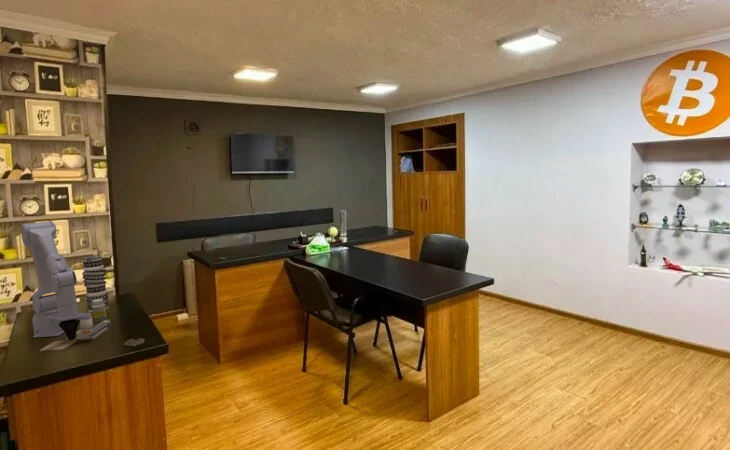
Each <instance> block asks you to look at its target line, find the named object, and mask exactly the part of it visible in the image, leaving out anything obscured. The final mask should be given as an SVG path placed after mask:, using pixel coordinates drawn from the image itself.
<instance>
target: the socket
mask: <svg viewBox="0 0 730 450" xmlns="http://www.w3.org/2000/svg"><path fill="white" fill-rule="evenodd" d="M108 330H109V329H108V327H103V328H101V329H100V330H98V333H96V334H95V335H93V336H90V337H88V338H83V337H77V333H78V332H80V331H81V329H79V330H77V332H76V338H75V339H73V340H77V341H81V340H83V341H84V340H95V339H96V338H97V337H99V336H100V335H102V334H104V332H106V331H108ZM65 340H68V338H67V337H66V338H65Z"/></svg>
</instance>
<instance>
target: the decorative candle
mask: <svg viewBox="0 0 730 450" xmlns="http://www.w3.org/2000/svg"><path fill="white" fill-rule="evenodd" d="M81 262H82V269H83V272H82V273H81V274H82V279H84V280H83V283H84V284H83V287H85V288H86V296H85V298H86V302H87V304H86V306H87V312H88V313H91V312H93V311H92V306H93V304H92V301H93V300H96V299H103V303H104V304H105V309H107V310H109V309H110V300H109V296H108V295H109V293H108V292H107V287H106V284H107V281H106V279H107V277H106V276H107V274H106V273H104V272H106V271H107V270H106V269H105V268H106V266H104V264H103V262H104V261H103V257H102V256H100V255H97V254H92V255H87V256H84V257H83V259H82V260H81ZM108 308H109V309H108Z"/></svg>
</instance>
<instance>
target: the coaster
mask: <svg viewBox="0 0 730 450" xmlns="http://www.w3.org/2000/svg"><path fill="white" fill-rule="evenodd" d="M77 342H78V340H66V339H65V340H54V341H52V342H51V343H49V344H48V345H46V346H44V347H42V348H41V349H40V350H39V352H53V351H54V352H55V351H57V352H58V351H64V350H66V349H68V348H69V347H71V346H72V345H74V344H75V343H77Z"/></svg>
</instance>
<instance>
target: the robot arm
mask: <svg viewBox="0 0 730 450" xmlns="http://www.w3.org/2000/svg"><path fill="white" fill-rule="evenodd" d="M20 234H21V239H22V242H23V245H24V246H25V247H29V249H30V251H31V255H32V260H33V264H34V269H35V273H36V277H37V278H36V279H37V281H38V287H39V288H38V289H37V290H36V291H34V293H33V294H32V295H31V299H32V307H33V308H32V309H33V311H34V312H35V313H34V314H33V317H32V327H33V333H34V335H32V336H33V337H32V338H46V337H58V336H60V335H62V334H64V333H65V336H66V338H68V340H73V339H75V338H76V337H77V336H76V332H77V331H78V327H79V325H80V321H81V320H85V319H86V320H89V319H91V316H92V313H91V312H88V313H87V312H79V310H78V303H77V295H76V288H75V286H76V285H77V276H76V272H75V271H74V269H72V267H69V266H68V265H69V264H68V263H67V261H66V258H65V256H64V255H63V254H60V253H59V251H58V248H57V245H56V242H55V239H56V235H57V226H56V224H55V222H54V221H52V220H49V221H40V222H39V221H38V222H32V223H31V222H30V223H22V225H21V226H20Z"/></svg>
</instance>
